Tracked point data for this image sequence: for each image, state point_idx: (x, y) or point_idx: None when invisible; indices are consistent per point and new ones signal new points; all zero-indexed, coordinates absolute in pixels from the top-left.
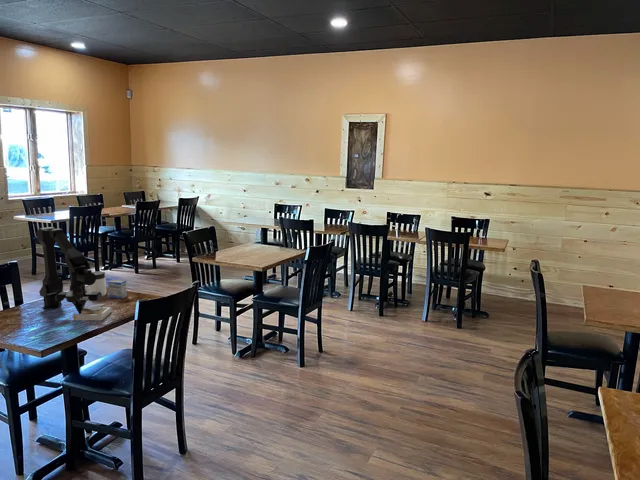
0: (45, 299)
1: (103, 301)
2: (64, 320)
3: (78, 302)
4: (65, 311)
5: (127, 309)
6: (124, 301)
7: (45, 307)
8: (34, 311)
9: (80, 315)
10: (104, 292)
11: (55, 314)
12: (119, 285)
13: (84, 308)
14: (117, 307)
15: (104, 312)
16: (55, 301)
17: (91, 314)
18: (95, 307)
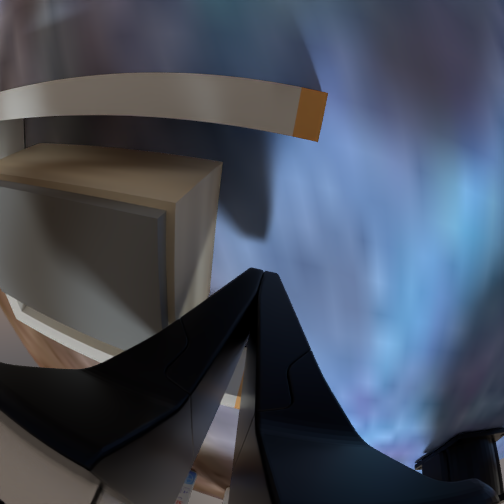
0: (498, 476)
1: (200, 457)
2: (455, 133)
3: (239, 466)
4: (421, 401)
5: (5, 306)
6: None
7: (498, 434)
8: None
9: (178, 74)
10: (224, 497)
11: (498, 354)
12: None
13: (159, 320)
14: (67, 361)
15: None
16: (457, 475)
17: (30, 104)
18: (47, 309)
